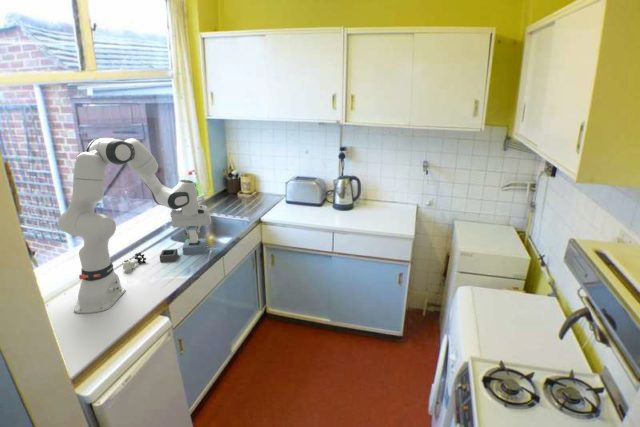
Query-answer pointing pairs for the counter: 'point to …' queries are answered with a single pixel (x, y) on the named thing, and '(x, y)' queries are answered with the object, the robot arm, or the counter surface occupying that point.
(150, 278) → the counter surface
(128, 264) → the valve
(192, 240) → the plug
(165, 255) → the grey square container
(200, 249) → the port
